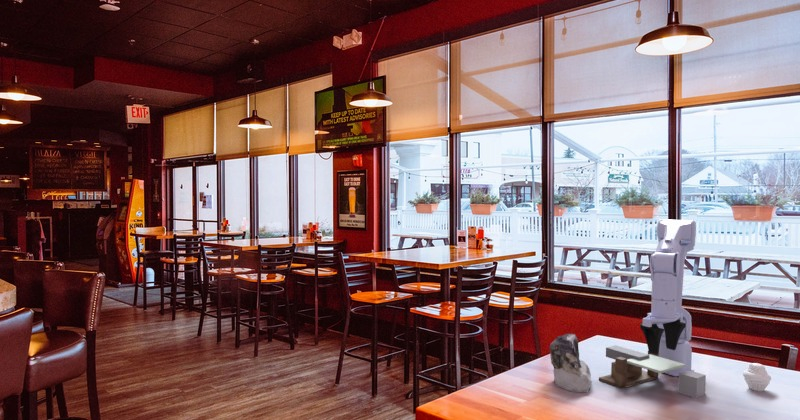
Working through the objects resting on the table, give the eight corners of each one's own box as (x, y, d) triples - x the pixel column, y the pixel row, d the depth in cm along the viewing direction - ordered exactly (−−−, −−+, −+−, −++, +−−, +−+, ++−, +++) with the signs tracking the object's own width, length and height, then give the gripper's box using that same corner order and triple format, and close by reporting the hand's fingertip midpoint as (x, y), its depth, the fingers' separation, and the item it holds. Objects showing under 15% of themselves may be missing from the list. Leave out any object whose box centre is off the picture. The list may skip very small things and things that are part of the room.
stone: (603, 399, 136) (583, 350, 133) (566, 411, 138) (545, 364, 135) (590, 368, 149) (570, 323, 146) (556, 380, 151) (536, 336, 148)
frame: (635, 370, 154) (636, 345, 154) (658, 378, 148) (658, 351, 148) (598, 380, 145) (599, 353, 145) (621, 388, 140) (622, 359, 139)
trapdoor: (623, 352, 154) (623, 343, 154) (685, 371, 139) (685, 361, 139) (598, 358, 149) (598, 349, 149) (659, 378, 133) (660, 367, 133)
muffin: (746, 383, 145) (746, 357, 145) (773, 389, 140) (773, 363, 140) (739, 389, 140) (740, 362, 140) (767, 395, 136) (768, 368, 136)
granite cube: (687, 389, 140) (687, 370, 140) (705, 394, 136) (705, 375, 136) (678, 392, 137) (679, 373, 137) (696, 398, 134) (697, 378, 134)
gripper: (665, 294, 145) (664, 343, 146) (632, 298, 138) (631, 351, 138) (691, 298, 139) (689, 350, 139) (657, 303, 132) (656, 358, 132)
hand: (662, 351), depth 138 cm, fingers open, 7 cm apart
